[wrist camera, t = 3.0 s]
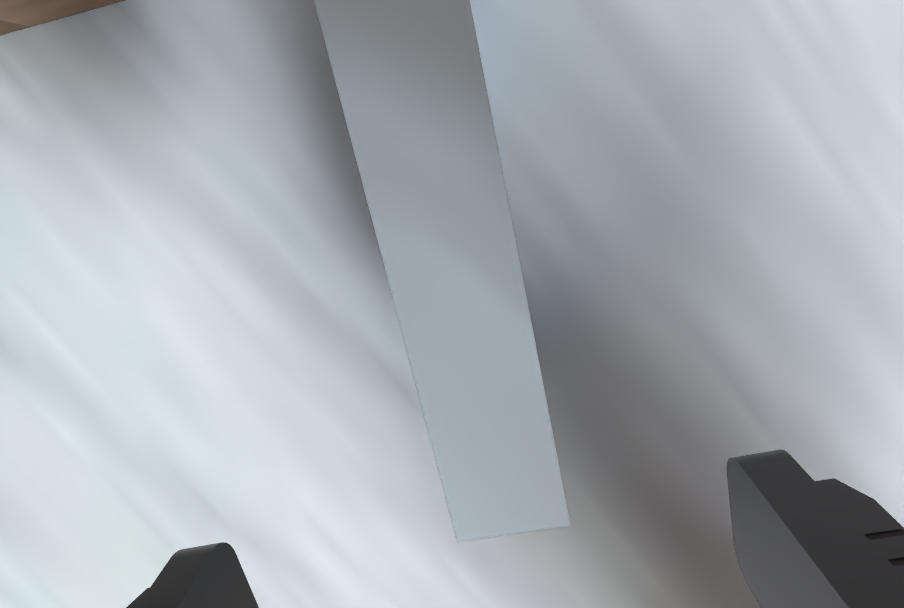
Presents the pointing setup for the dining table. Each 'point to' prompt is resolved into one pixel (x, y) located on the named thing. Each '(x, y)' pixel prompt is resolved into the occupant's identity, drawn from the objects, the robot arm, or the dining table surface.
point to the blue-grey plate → (449, 254)
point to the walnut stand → (41, 11)
